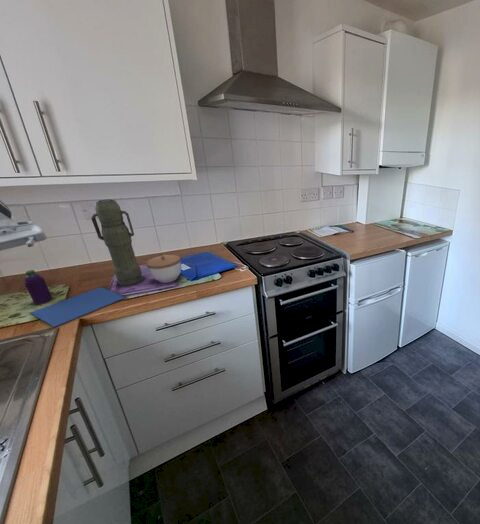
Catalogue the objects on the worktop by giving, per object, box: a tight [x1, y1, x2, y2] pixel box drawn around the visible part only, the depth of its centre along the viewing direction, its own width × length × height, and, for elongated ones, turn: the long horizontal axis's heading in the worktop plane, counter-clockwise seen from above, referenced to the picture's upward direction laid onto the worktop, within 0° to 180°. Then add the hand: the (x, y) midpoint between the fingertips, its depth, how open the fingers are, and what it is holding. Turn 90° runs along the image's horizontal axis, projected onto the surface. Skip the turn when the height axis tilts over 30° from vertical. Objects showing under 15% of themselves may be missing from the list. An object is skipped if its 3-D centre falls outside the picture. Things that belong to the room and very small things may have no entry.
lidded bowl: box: [145, 254, 182, 284], centre depth 129 cm, size 13×13×11 cm
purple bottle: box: [23, 269, 54, 305], centre depth 111 cm, size 5×5×12 cm
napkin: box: [30, 286, 126, 328], centre depth 111 cm, size 22×18×1 cm
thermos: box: [90, 198, 144, 287], centre depth 122 cm, size 9×12×35 cm
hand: (12, 249), depth 110 cm, fingers open, 8 cm apart
